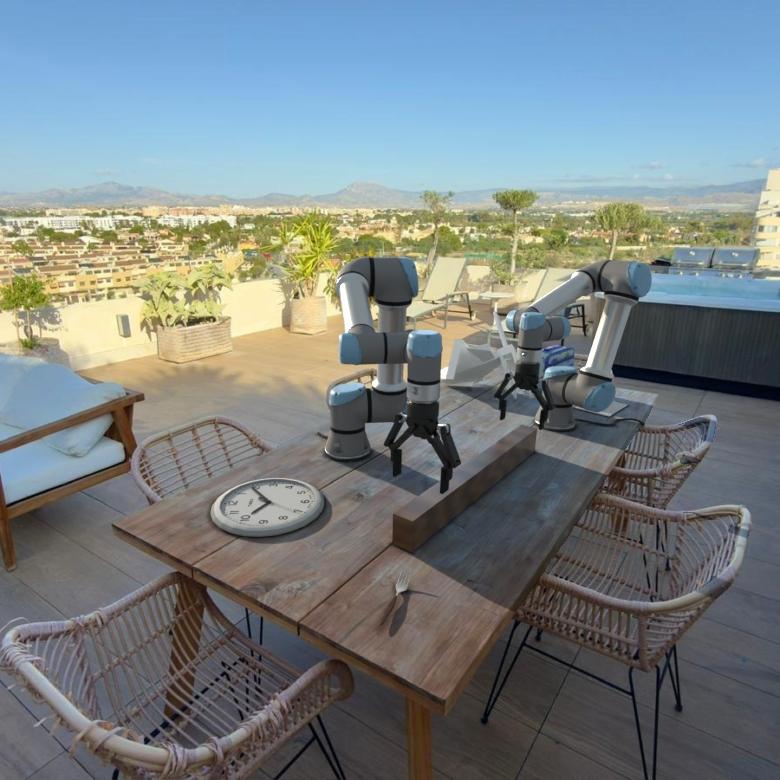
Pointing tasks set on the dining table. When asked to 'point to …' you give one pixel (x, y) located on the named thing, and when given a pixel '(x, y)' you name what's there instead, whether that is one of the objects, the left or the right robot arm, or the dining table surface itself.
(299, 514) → the wall clock
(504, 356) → the white plastic object
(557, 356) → the lunch box
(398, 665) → the dining table surface
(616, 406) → the invitation card
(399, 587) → the fork
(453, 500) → the post
